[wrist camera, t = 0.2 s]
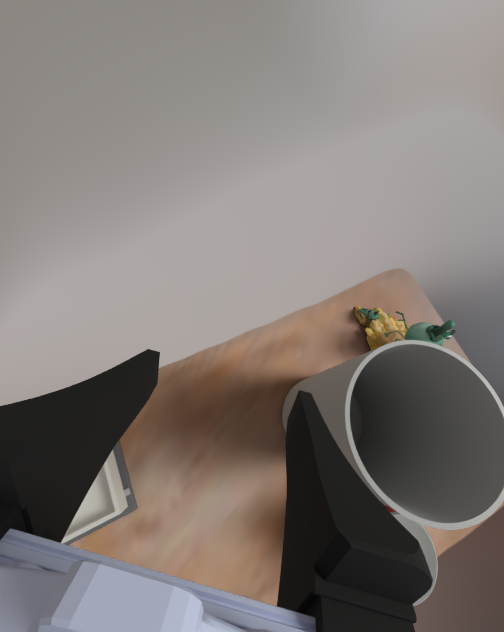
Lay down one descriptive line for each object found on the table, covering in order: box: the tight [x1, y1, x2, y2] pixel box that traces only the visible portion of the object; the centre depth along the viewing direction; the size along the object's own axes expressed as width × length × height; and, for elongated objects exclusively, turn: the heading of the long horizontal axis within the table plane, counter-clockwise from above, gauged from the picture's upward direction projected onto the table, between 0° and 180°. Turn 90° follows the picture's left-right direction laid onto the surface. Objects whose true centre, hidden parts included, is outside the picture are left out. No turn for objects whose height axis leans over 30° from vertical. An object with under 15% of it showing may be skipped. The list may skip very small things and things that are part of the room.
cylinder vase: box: [282, 340, 504, 530], centre depth 31 cm, size 12×12×25 cm
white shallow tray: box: [61, 450, 128, 544], centre depth 34 cm, size 10×10×4 cm
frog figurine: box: [355, 306, 456, 351], centre depth 42 cm, size 10×18×15 cm, turn 25°
